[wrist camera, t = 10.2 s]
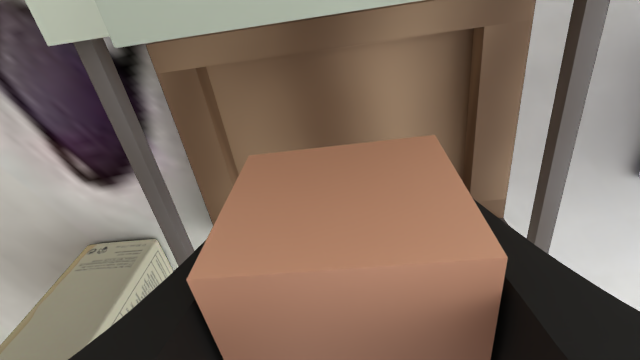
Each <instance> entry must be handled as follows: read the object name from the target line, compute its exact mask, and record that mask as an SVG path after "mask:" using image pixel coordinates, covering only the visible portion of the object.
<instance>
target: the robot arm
mask: <svg viewBox="0 0 640 360" xmlns="http://www.w3.org/2000/svg"><path fill="white" fill-rule="evenodd" d="M639 178H640V172H639ZM473 200H474V199H473ZM474 201H475V203H476V205H477V207H478V208H479V210H480V212H481V213H482V215H483V217H484V218H485V220H486V222H487V223H488V225H489V227H490V228H491V230H492V232H493V233H494V235H495V237H496V238H497V240H498V242H499V244H500V245H501V247H502V249H503V250H504V252H505V254H506V255H507V257H508V259H507V265H506V271H505V277H504V283H503V289H502V295H501V301H500V307H499V313H498V318H497V324H496V330H495V336H494V342H493V348H492V354H491V360H640V311H638V310H636V309H634V308H633V307H631V306H629V305H627V304H626V303H624V302H622V301H620V300H619V299H617V298H615V297H614V296H612V295H610V294H609V293H607V292H606V291H604V290H602V289H601V288H599V287H597V286H596V285H594V284H593V283H591V282H590V281H588V280H587V279H585V278H583V277H582V276H580V275H579V274H577V273H576V272H574V271H573V270H571V269H570V268H568V267H566V266H565V265H563V264H562V263H560V262H559V261H557V260H556V259H555V258H553V257H552V256H550V255H549V254H547V253H546V252H544V251H543V250H542V249H540V248H539V247H537V246H536V245H534V244H533V243H532V242H530V241H529V240H527V239H526V238H525V237H523V236H522V235H521V234H519V233H518V232H517V231H515V230H514V229H513V228H511V227H510V226H509V225H507V224H506V223H505V222H503V221H502V220H501V219H499V218H498V217H497V216H495V215H494V214H493V213H491V212H490V211H489V210H488V209H486V208H485V207H484V206H482V205H481V204H480V203H478V202H477V201H476V200H474ZM205 242H206V241H205ZM205 242H204V243H203V244H201V245H200V246H199V247H198V248H197V249H196V250H195V251H194V252H193V253H192V254H191V255H190V256H189V257H188V258H187V259H186V260H185V261H184V262H183V263H182V264H181V265H180V266H179V267H178V268H177V269H176V270H175V271H174V272H173V273H172V274H170V275H169V276H168V277H167V278H166V279H165V280H164V281H163V282H162V283H160V284H159V285H158V286H157V287H156V288H155V289H154V290H153V291H151V292H150V293H149V294H148V295H147V296H146V297H145V298H144V299H143V300H141V301H140V302H139V303H138V304H137V305H136V306H135V307H134V308H132V309H131V310H130V311H129V312H128V313H127V314H125V315H124V316H123V317H122V318H121V319H119V320H118V321H117V322H116V323H114V324H113V325H112V326H111V327H110V328H108V329H107V330H106V331H105V332H103V333H102V334H101V335H99V336H98V337H97V338H95V339H94V340H93V341H92V342H90V343H89V344H88V345H86V346H85V347H84V348H83V349H81V350H80V351H79V352H77V353H76V354H75V355H73V356H72V357H71V358H69V359H68V360H224V359H223V357H222V355H221V353H220V351H219V348H218V346H217V344H216V342H215V340H214V338H213V336H212V334H211V331H210V329H209V327H208V325H207V323H206V321H205V319H204V317H203V314H202V312H201V310H200V308H199V306H198V304H197V302H196V300H195V297H194V295H193V293H192V291H191V289H190V287H189V285H188V283H187V280H186V279H187V277H188V275H189V274H190V272H191V270H192V268H193V266H194V264H195V262H196V260H197V258H198V256H199V254H200V252H201V250H202V248H203V246H204V244H205Z"/></svg>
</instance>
